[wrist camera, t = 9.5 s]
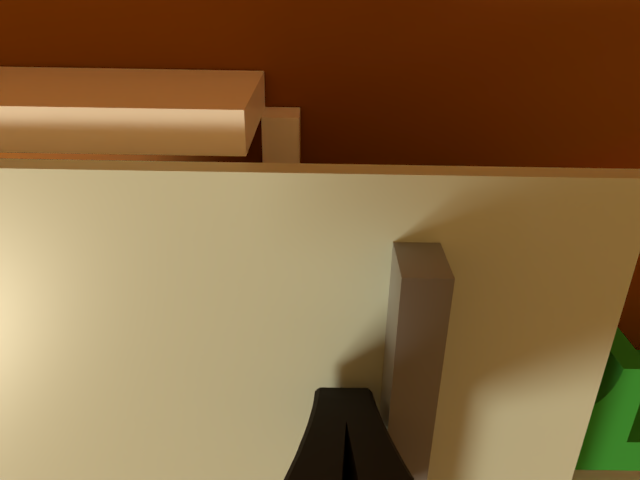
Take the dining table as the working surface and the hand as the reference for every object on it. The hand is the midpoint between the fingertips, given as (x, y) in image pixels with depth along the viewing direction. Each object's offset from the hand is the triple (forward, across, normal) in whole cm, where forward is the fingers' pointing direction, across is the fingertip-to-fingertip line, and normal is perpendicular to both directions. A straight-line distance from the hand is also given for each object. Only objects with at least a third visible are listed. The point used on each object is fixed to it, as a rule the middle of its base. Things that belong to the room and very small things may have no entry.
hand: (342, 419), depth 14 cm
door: (+1, +2, 0) cm, 2 cm away
